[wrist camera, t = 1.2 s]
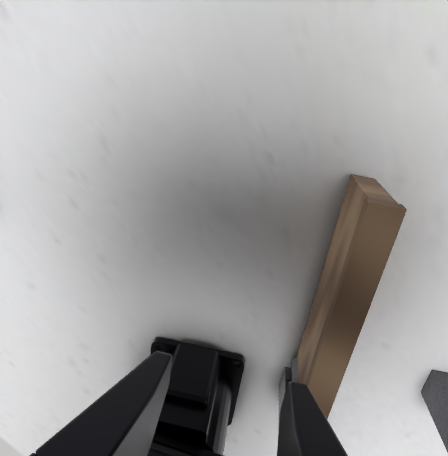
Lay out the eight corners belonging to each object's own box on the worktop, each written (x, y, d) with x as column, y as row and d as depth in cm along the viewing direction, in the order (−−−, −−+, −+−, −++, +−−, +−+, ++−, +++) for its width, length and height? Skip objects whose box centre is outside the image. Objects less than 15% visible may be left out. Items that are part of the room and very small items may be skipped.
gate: (313, 376, 24) (320, 440, 20) (288, 371, 24) (291, 433, 20) (378, 179, 18) (407, 209, 14) (347, 173, 19) (367, 202, 14)
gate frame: (460, 399, 24) (509, 486, 19) (279, 394, 26) (278, 471, 21) (465, 370, 23) (518, 453, 18) (277, 367, 25) (276, 440, 20)
